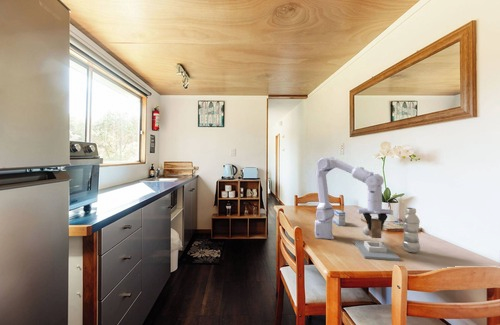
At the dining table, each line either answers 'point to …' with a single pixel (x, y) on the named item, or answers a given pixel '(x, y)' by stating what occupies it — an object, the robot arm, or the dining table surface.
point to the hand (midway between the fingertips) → (374, 229)
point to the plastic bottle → (411, 231)
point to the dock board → (376, 250)
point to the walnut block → (375, 228)
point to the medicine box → (339, 217)
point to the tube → (365, 229)
